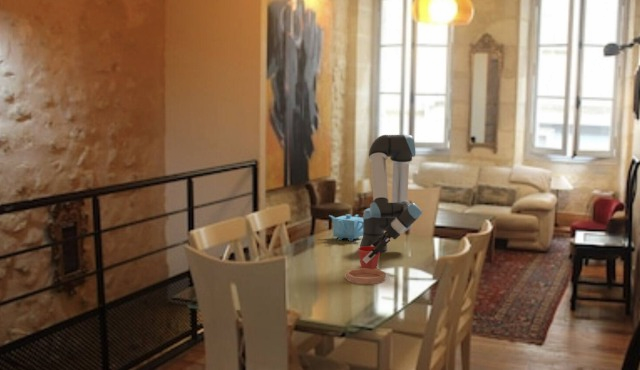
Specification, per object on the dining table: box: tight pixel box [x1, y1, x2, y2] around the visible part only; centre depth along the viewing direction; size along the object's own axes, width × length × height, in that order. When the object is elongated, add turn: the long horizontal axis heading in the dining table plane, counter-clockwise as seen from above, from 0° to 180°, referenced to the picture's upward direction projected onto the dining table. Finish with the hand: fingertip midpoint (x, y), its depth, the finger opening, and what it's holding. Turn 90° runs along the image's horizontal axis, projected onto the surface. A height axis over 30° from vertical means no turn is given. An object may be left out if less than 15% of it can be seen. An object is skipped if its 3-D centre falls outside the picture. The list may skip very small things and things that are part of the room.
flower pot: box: [357, 246, 381, 269], centre depth 337 cm, size 11×11×10 cm
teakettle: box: [329, 213, 363, 242], centre depth 405 cm, size 19×19×15 cm
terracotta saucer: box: [344, 267, 387, 285], centre depth 316 cm, size 18×18×3 cm
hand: (364, 258), depth 337 cm, fingers open, 13 cm apart
